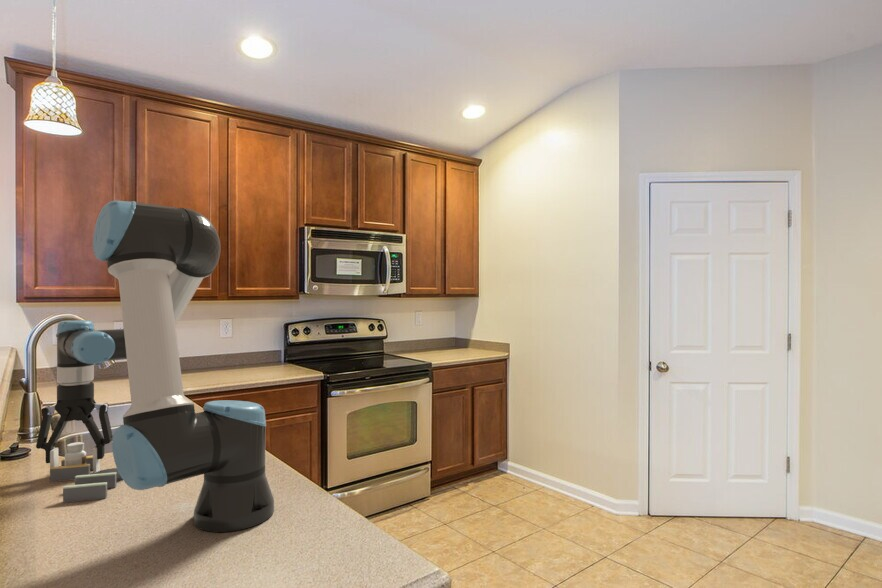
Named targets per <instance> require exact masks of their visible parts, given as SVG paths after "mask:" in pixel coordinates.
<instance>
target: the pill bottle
mask: <svg viewBox="0 0 882 588" xmlns="http://www.w3.org/2000/svg"><path fill="white" fill-rule="evenodd" d="M84 449H85V442H82V441H77V442H71V443H68V444H66V452H67V453H65V454H64V458H65V466H68V465H80V464H86V457H87V451H85V450H84Z"/></svg>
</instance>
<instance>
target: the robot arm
mask: <svg viewBox="0 0 882 588" xmlns="http://www.w3.org/2000/svg"><path fill="white" fill-rule="evenodd" d="M221 247H222V246H221V240H220V237H219V234H218V231H217V229H216V227H215V226H214V225H213V223H212V222H211V221H210V220H209V219H208V218H207V217H206V216H205V215H204V214H202V213H200V212H198V211H196V210H193V209H192V208H191V209H190V208H185V207H176V206H175V207H174V206H169V205H168V206H167V205H159V204H153V203H151V204H150V203H146V202H145V203H144V202H138V201H137V202H136V201H135V200H131V201H127V200H126V201H124V200H115V199H114V200H111V201H109V202H106V204H104V205H103V207H102V208H101V210H100V212H99V214H98V216H97V219H96V222H95V225H94V230H93V236H92V251H93V254H94V257H95V259H96V260H98V261H101V262H105V261H106V264H107V265H106V266H107V273H109V274H110V275H111V276H113V278H115V279H117V280H118V286H119V287H118V288H119V297H120V307H121V316H122V317H121V318H122V325H123V328H119V329H117V328H116V329H115V328H114V329H99V330H96V329H95V323H94V322H93V321H92V320H88V319H85V320H81V319H79V320H75V319H74V320H61V321H59V323H58V324H57V327H56V328H57V330H56V334H55V337H56V362H57V363H56V382H57V383H58V385H56V403H55V405H51V406H50V405H48V406H45V407H43V408H41V409H40V412H41V417H42V418H41V423H40V426H39V431H38V435H37V440H36V445H35V448H36V449H39V450H40V449H42V450H44V451H45V464H49V469H50V468H51V467H56V466H59V447H56V446H57V445H56V444H57V442H58V441H59V439H60V437H61V435H62V433H63V432H64V429H65V427H66V425H67V423H68V422H72V421H73V422H74V421H77V422H78V421H79V422H80V421H82V423H83V425H85V427H86V429H87V430H88V432H89V435H90V437H91V438H92V440H93V441H94V443H95V445H94V446H93V447H92V456H93V470H92V474H94V473H96V472H98V471H101V460H102V459H103V458H104V457H105V445H109V444H110V443H111V448H112V450H111V451H112V456H113V460H114V463H115V466H116V467H115V468H117V470H118V472H119V474H120V476H121V478H122V479H123V480H122V481H124V483H125V484H126V486H128V487H129V488H131V489H133V490H136V491H144V490H149V489H153V488H162V487H164V486H166V485H169V484H172V483H177V482H180V481H184V480H187V479H190V478H194V477H198V476H201V475H203V483H202V486H201V489H200V492H199V494H198V498H197V501H196V504H195V507H194V508H193V509H194V510H193V524H194V526H195V527H196V528H198V529H199V530H202V531H205V532H213V533H227V532H234V531H235V532H236V531H240V530H244V529H248V528H251V527H254V526H257V525H259V524H261V523H264V522H266V521H267V520H269V518H271V517H272V516H273V514H274V512H275V499H274V496H273V492H272V490H271V486H270V484H269V481H268V477H267V476H266V427H267V421H266V410H265V407H264V406H262V405H261V404H259V403H256V402H252V401H246V400H235V399H234V400H232V399H231V400H230V399H229V400H228V399H226V400H225V399H224V400H223V399H221V400H219V399H218V400H211V401H207V402H205V403H204V406H203V407H202V410H203V411H201V412H196V409H195V404H194V402H193V401H191V399H188V397H186V396H185V394H184V393H185V392H184V385H183V377H182V369H181V362H180V361H181V359H180V353H179V345H178V343H179V342H178V338H177V330H176V326H177V325H178V323H179V321H180V319H181V318H182V315H183V314H184V312H185V310H186V309H187V307H188V305H189V303H190V302H191V300H192V298H193V297H194V296H195V293H196V292H197V290H198V288H199V287H200V285H201V283H202V282H203V279H205V278H207V277H209V276H211V275H212V274H213V273H214V270H215V269H216V267H217V265H218V263H219V261H220V257H221ZM118 360H119V361H120V360H123V361H124V360H126V362H127V363H126V364H127V373H128V374H127V375H128V381H129V385H128V386H129V393H130V402H131V405H130V406H129V408H128V409H127V411H125V413H124V414H123V415H122V423H123V424H122V425H120V426H118V427H117V428H115V430H114V431H113V432H112V428H111V422H110V417H109V412H108V411H109V403H108V402H104V403H97V402H96V401H95V382H93V380H94V378H95V365H99V364H102V363H104V362H110V361H111V362H112V361H118ZM94 409H96V412H97V413H98V418H99V423H100V428H101V431H100V429H99V427H98V425H97V424H96V421H95V420H94V417H93V416H94V415H92V412H93V410H94ZM55 412H57V414H58V415H59V419H58V420H57V424H56V426H55V428H54V429H53V431H52V433H51V435H50V437H49V434H50V433H49V432H50V428H51V424H52V419H53V415H54V414H55ZM101 432H102V433H101ZM48 438H49V439H48Z"/></svg>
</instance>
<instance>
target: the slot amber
mask: <svg viewBox="0 0 882 588" xmlns="http://www.w3.org/2000/svg"><path fill="white" fill-rule="evenodd" d="M60 463H61V464H60V466H59V465H58V466H56V467H51V468H50V467H49V482H50V483H53V482H64V481H75V477H76V476H78V475H89V474H91V471H93V455H90V456H86V464H80V465H68V466H65V457H64V458H61V460H60Z"/></svg>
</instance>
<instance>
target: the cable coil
mask: <svg viewBox="0 0 882 588" xmlns="http://www.w3.org/2000/svg"><path fill="white" fill-rule="evenodd" d="M112 472H116V484H117V483H119V482H122V481H124V480H123V479H122V478H121V476H120V474H119V472H118V470H117V467H113V468H107V469H102V470H101V469H100V471H98V472H96V473H94V474H101V473H112Z"/></svg>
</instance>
